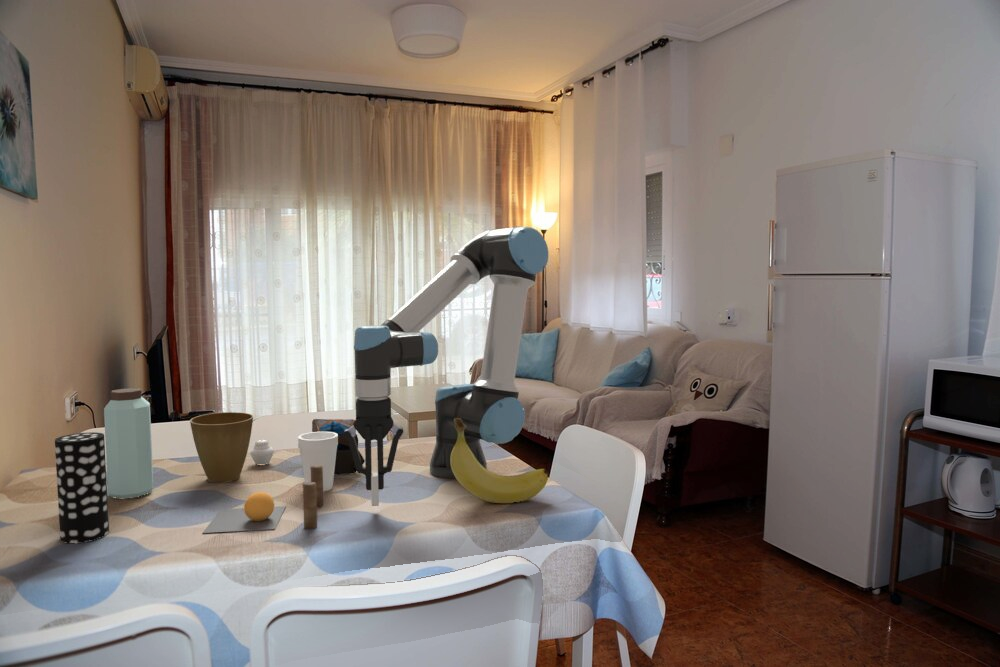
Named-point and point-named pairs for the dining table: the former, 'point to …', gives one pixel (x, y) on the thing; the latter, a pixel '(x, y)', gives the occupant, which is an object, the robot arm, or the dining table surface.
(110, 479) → the water bottle
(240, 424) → the plant pot
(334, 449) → the foam cup
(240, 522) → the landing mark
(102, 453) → the spotted tube
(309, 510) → the post
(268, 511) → the ball
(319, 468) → the post
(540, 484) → the banana
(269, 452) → the white lidded jar
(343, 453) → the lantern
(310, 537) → the dining table surface
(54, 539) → the dining table surface
